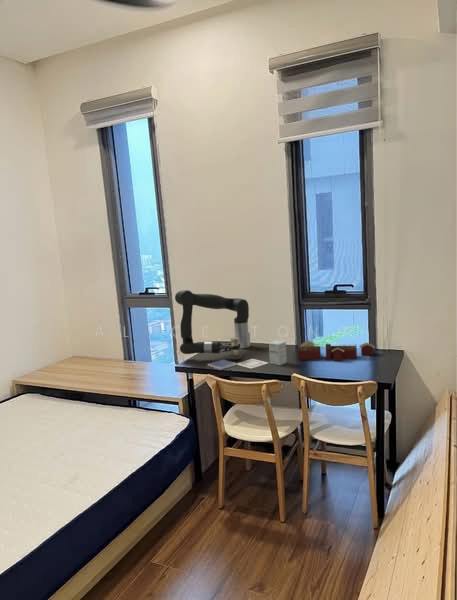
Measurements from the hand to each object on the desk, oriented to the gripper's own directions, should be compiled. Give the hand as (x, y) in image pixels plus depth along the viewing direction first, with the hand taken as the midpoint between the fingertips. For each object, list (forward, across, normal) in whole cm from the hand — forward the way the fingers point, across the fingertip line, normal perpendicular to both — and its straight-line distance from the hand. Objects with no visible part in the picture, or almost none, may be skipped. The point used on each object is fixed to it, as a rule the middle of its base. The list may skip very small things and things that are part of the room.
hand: (239, 346), depth 276 cm
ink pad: (-9, -12, +8) cm, 17 cm away
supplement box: (+24, -7, +9) cm, 26 cm away
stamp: (-3, 0, +7) cm, 7 cm away
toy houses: (+58, +6, +9) cm, 59 cm away
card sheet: (+8, -8, +8) cm, 14 cm away
